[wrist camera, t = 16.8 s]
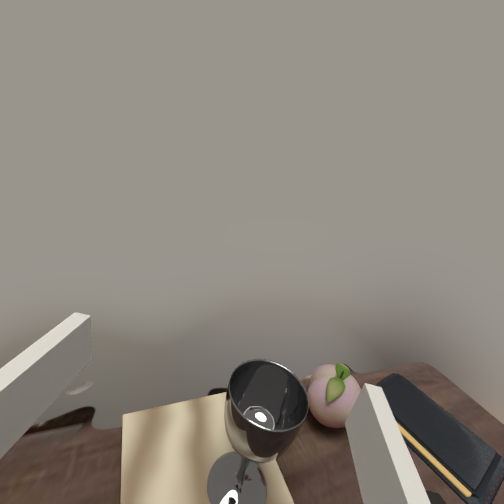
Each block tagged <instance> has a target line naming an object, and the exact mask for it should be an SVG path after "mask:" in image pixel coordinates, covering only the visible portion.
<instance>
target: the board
mask: <svg viewBox="0 0 504 504" xmlns="http://www.w3.org/2000/svg"><path fill="white" fill-rule="evenodd" d="M226 393H227V392H225V393H220V394H216V395H211V396H207V397H203V398H198V399H193V400H188V401H184V402H179V403H175V404H170V405H166V406H161V407H157V408H152V409H148V410H143V411H138V412H134V413H129V414H125V415H123V425H122V462H121V500H120V504H211V503H210V501H209V497H208V492H207V480H208V475H209V472H210V469H211V467H212V466H213V464H214V463H215V461H216V460H217V459H218V458H219V457H220V456H222V455H224V454H226V453H228V452H233V451H235V450H234V449H233V448H232V446H231V444H230V443H229V440H228V438H227V435H226V430H225V424H224V406H225V398H226ZM258 464H259V465H260V467H261V469H262V470H263V473H264V475H265V479H266V483H267V499H266V503H265V504H294V502H293V500H292V497H291V495H290V493H289V490H288V488H287V485H286V483H285V481H284V478H283V476H282V474H281V471H280V469H279V467H278V464H277V462H276V460H273V461H271V462H269V463H258Z"/></svg>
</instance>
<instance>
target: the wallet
mask: <svg viewBox="0 0 504 504" xmlns="http://www.w3.org/2000/svg"><path fill="white" fill-rule="evenodd" d="M374 386H378V387H382V390H383V392H384V394H385V397H386V399H387V401H388V404H389V406H390V409H391V411H392V413H393V416H394V418H395V420H396V423H397V425H398V427H399V430H400V432H401V434H402V437H403V439H404V442H405V443H406V444H407V445H408V446H409V447H410V448H411V449H412V450H413V451H414V452H415V453H416V454H417V455H418V456H419V457H420V458H421V459H422V460H423V461H424V462H425V463H426V464H427V465H428V466H429V467H430V468H431V469H432V470H433V471H434V472H435V473H436V474H437V475H438V476H439V477H440V478H441V479H442V480H443V481H444V482H445V483H446V484H447V485H448V486H449V487H450V488H451V489H452V490H453V491H454V492H455V493H456V494H457V495H458V496H459V497H460V498H461V499H462V500H463V501H464V502H465V503H466V504H492V502H493V500H494V498H495V496H496V494H497V492H498V490H499V488H500V486H501V484H502V482H503V480H504V458H503V457H501V456H500V455H499V454H498V453H497V452H496V451H495V450H494V449H493V448H491V447H490V446H489V445H488V444H486V443H485V442H484V441H483V440H481V439H480V438H479V437H478V436H476V435H475V434H474V433H473V432H471V431H470V430H469V429H468V428H466V427H465V426H464V425H463V424H461V423H460V422H459V421H458V420H456V419H455V418H454V417H453V416H451V415H450V414H449V413H448V412H447V411H445V410H444V409H443V408H442V407H440V406H439V405H438V404H437V403H435V402H434V401H433V400H432V399H430V398H429V397H428V396H427V395H425V394H424V393H423V392H422V391H420V390H419V389H418V388H417V387H415V386H414V385H413V384H412V383H410V382H409V381H408V380H407V379H405V378H404V377H403V376H401V375H400V374H395V373H393V374H391V375H389V376H388V377H386V378H385V379H383V380H382V381H380V382H379V383H377V384H376V385H374Z"/></svg>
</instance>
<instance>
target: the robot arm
mask: <svg viewBox="0 0 504 504" xmlns="http://www.w3.org/2000/svg"><path fill="white" fill-rule="evenodd" d="M91 361H92V338H91V316H89V315H85V314H81V313H76V312H75V313H73V314H72V315H71V316H70V317H68V318H67V319H66V320H64V321H63V322H62V323H60V324H59V325H58V326H56V327H55V328H54V329H52V330H51V331H50V332H49V333H47V334H46V335H44V336H43V337H42V338H40V339H39V340H38V341H37V342H35V343H34V344H32V345H31V346H30V347H29V348H27V349H26V350H25V351H23V352H22V353H21V354H19V355H18V356H17V357H15V358H14V359H13V360H12V361H10V362H9V363H7V364H6V365H5V366H4V367H2V368H1V369H0V459H1V458H2V457H3V456H4V454H5V453H6V452H7V451H8V450H9V449H10V448H11V447H12V446H13V445H14V444H15V443H16V442H17V440H18V439H19V438H20V437H21V436H22V435H23V434H24V433H25V432H26V431H27V430H28V429H29V428H30V427H31V425H32V424H33V423H34V422H35V421H36V420H37V419H38V418H39V417H40V416H41V415H42V414H43V413H44V411H45V410H46V409H47V408H48V407H49V406H50V405H51V403H53V402H54V401H55V399H56V398H57V397H58V396H59V395H60V394H61V393H62V392H63V391H64V390H65V389H66V388H67V387H68V386H69V384H70V383H71V382H72V381H73V380H74V379H75V378H76V377H77V376H78V375H79V374H80V373H81V371H83V369H84V368H85V367H86V366H87V365H88V364H89V363H90V362H91ZM345 426H346V431H347V435H348V439H349V444H350V448H351V452H352V457H353V461H354V465H355V470H356V474H357V478H358V483H359V487H360V491H361V496H362V500H363V504H446V502H445V501H444V500H443V498H442V497H441V496H440V494H438V493H434V492H430V491H427V490H425V489H424V486H423V484H422V482H421V479H420V477H419V475H418V472H417V470H416V467H415V465H414V463H413V460H412V458H411V456H410V453H409V451H408V449H407V446H406V444H405V442H404V439H403V437H402V434H401V432H400V430H399V427H398V425H397V423H396V420H395V418H394V416H393V413H392V411H391V409H390V406H389V404H388V401H387V399H386V397H385V394H384V392H383V390H382V387H378V386H374V385H370V384H366V383H365V384H364V386H363V388H362V390H361V392H360V394H359V396H358V398H357V400H356V402H355V404H354V406H353V408H352V410H351V412H350V414H349V416H348V418H347V420H346V422H345Z"/></svg>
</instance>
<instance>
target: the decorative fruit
mask: <svg viewBox="0 0 504 504" xmlns="http://www.w3.org/2000/svg"><path fill="white" fill-rule="evenodd" d="M360 392H361V389H360V387H359V385H358V383H357V381H356V380H355V379H354V378H353V377H352V376H351V375H350V370H349V369H348V367H347V366H345V365H344V364H342V363H339V364H336V365H331V364H325V365H322V366H319V367H318V368H316V369H315V371H314V372H313V374H312V376H311V380H310V386H309V388H308V392H307V394H308V400H309V409H310V411H311V413H312V414H313V416H314V417H315V419H316V420H317V421H318V422H320V423H321V424H323V425H325V426H327V427H331V428H342V427H346V426H345V422H346V420H347V418H348V416H349V414H350V412H351V410H352V408H353V406H354V404H355V402H356V400H357V398H358V396H359V394H360Z"/></svg>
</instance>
